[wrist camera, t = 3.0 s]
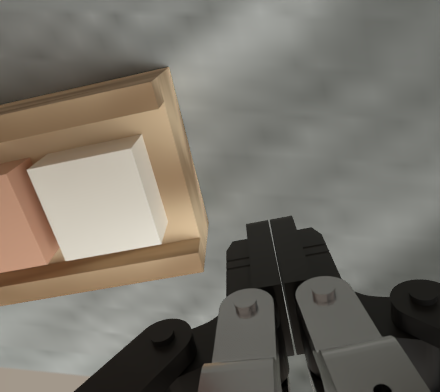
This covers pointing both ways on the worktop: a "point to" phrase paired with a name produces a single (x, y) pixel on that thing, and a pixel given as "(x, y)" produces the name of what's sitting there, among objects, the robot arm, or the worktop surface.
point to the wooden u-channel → (101, 132)
